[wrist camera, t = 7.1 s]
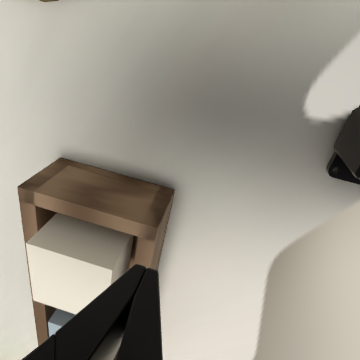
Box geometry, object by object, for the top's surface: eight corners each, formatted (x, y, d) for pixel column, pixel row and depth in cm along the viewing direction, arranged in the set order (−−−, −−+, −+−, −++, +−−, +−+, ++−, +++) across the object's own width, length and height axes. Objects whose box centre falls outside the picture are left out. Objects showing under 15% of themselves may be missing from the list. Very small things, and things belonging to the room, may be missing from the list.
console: (174, 189, 22) (157, 228, 18) (142, 339, 33) (126, 385, 29) (60, 157, 23) (17, 186, 19) (65, 313, 34) (39, 354, 30)
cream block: (134, 230, 21) (112, 270, 17) (127, 282, 24) (106, 324, 20) (61, 208, 21) (25, 243, 18) (63, 262, 24) (33, 300, 21)
